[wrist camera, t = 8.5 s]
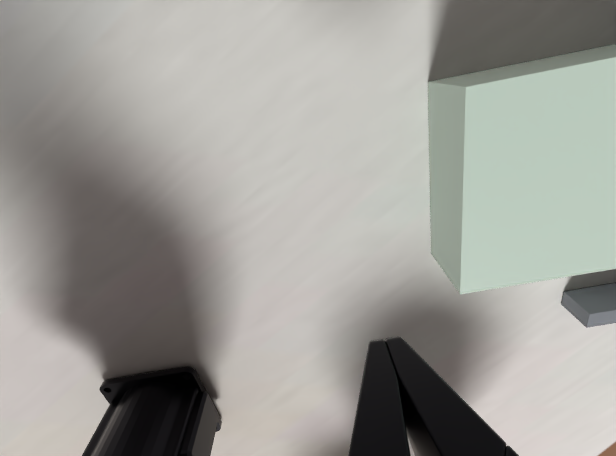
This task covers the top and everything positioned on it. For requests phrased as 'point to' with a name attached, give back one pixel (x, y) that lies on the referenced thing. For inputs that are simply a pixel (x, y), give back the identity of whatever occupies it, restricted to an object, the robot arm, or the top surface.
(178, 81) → the top surface
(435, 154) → the carton
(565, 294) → the stand
